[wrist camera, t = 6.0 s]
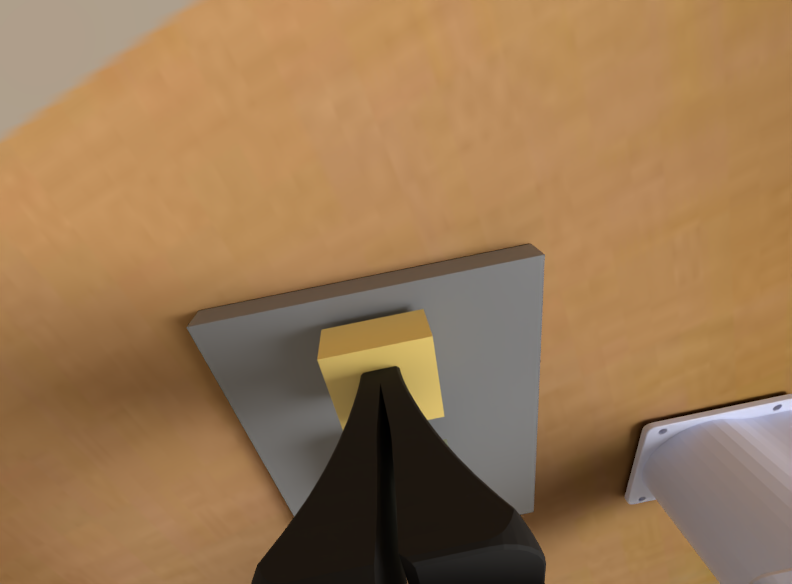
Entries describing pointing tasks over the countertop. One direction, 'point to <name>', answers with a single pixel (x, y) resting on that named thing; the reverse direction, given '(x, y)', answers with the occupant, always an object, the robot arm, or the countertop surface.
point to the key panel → (455, 355)
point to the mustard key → (381, 359)
